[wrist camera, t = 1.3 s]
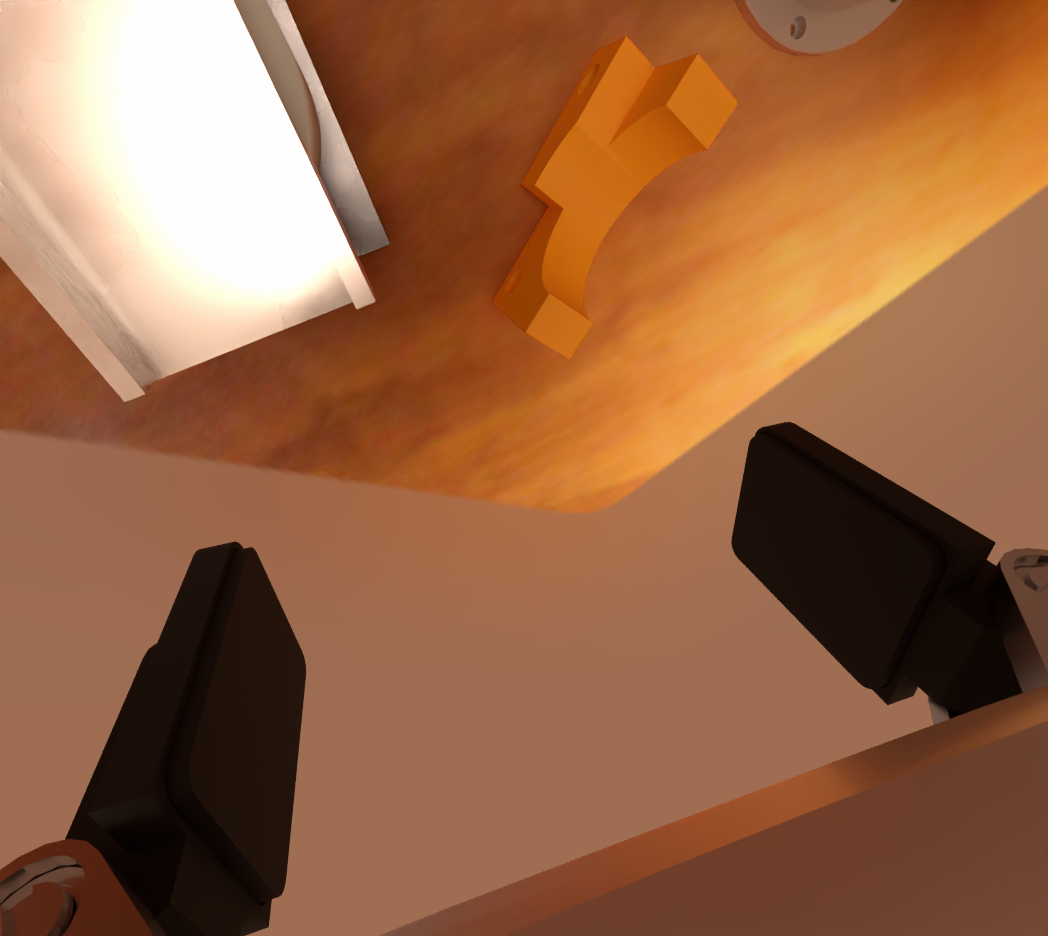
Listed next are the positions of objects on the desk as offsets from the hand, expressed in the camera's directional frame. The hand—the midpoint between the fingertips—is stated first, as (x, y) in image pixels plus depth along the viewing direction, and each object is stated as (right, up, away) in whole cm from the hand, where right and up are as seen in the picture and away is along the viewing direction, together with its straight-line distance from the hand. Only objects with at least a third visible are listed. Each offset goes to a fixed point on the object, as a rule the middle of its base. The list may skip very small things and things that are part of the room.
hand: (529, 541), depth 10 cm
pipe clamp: (+2, +15, +17) cm, 23 cm away
